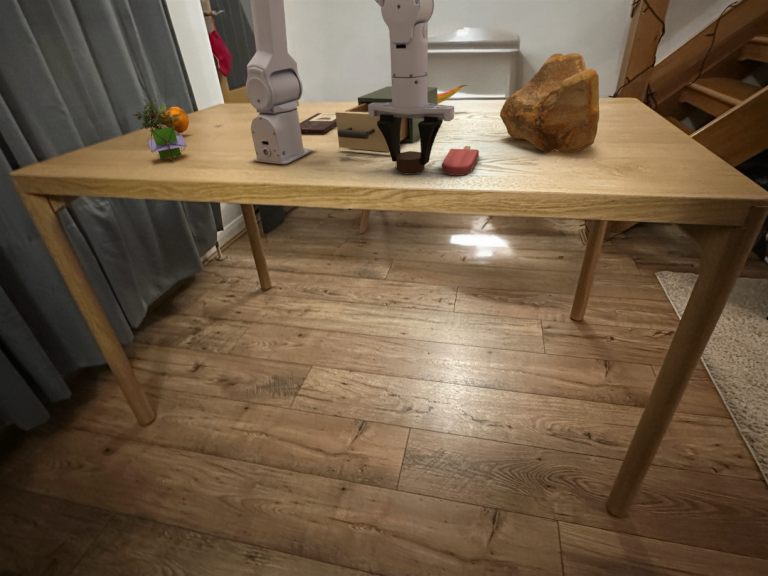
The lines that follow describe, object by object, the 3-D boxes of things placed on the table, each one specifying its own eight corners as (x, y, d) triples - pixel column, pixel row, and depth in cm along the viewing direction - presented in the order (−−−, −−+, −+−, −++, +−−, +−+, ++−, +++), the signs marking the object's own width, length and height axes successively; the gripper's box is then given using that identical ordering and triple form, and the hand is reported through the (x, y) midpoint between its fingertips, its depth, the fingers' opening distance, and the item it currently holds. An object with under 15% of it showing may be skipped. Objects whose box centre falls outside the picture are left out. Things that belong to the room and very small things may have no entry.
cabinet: (412, 143, 91) (412, 99, 86) (360, 139, 96) (357, 97, 91) (436, 127, 101) (437, 87, 97) (388, 124, 106) (387, 86, 102)
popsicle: (482, 143, 82) (470, 167, 71) (481, 151, 83) (470, 176, 71) (454, 142, 84) (438, 166, 72) (454, 150, 85) (438, 175, 73)
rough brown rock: (496, 131, 98) (496, 58, 90) (573, 123, 95) (581, 47, 87) (505, 166, 80) (506, 78, 71) (601, 158, 76) (615, 65, 68)
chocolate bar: (288, 129, 102) (317, 113, 117) (289, 133, 103) (318, 116, 117) (323, 129, 100) (348, 113, 114) (324, 134, 101) (349, 117, 115)
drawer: (379, 158, 80) (377, 119, 76) (327, 153, 84) (323, 116, 80) (416, 134, 93) (415, 101, 89) (369, 131, 97) (367, 99, 94)
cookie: (418, 175, 73) (418, 160, 71) (391, 172, 75) (391, 158, 73) (428, 166, 76) (429, 152, 75) (403, 164, 78) (403, 150, 77)
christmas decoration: (216, 148, 117) (177, 150, 98) (173, 135, 116) (127, 135, 97) (221, 111, 113) (182, 105, 94) (177, 98, 113) (129, 90, 94)
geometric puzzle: (190, 151, 86) (176, 113, 86) (153, 157, 83) (139, 118, 83) (191, 165, 93) (179, 130, 93) (157, 171, 90) (145, 135, 90)
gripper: (461, 72, 67) (457, 158, 75) (379, 71, 73) (383, 151, 81) (446, 79, 62) (444, 171, 70) (359, 77, 68) (365, 162, 75)
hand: (410, 161), depth 75 cm, fingers closed on cookie, 5 cm apart
